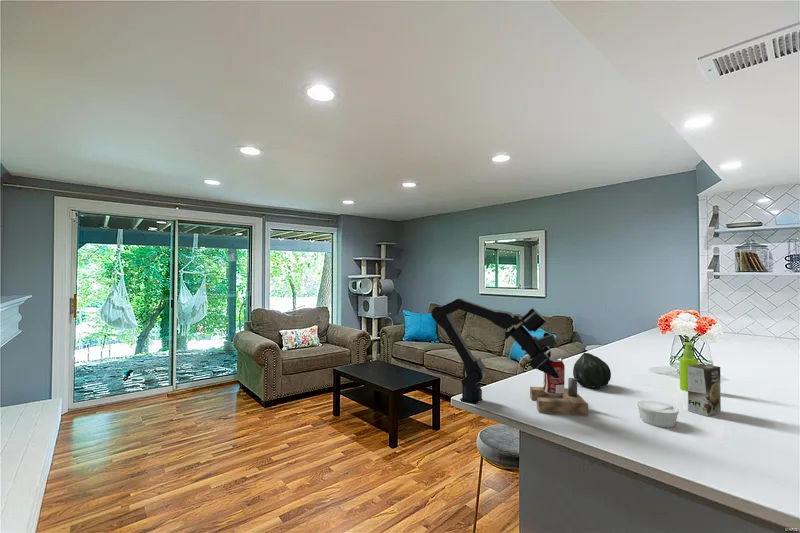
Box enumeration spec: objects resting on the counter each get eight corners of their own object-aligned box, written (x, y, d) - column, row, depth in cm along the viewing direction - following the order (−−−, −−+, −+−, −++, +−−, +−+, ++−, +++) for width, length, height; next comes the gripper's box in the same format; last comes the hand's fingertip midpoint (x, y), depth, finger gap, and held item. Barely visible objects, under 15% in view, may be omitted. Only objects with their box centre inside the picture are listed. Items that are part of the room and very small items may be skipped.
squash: (624, 375, 159) (599, 345, 167) (606, 382, 150) (581, 350, 159) (599, 391, 168) (577, 362, 176) (581, 399, 159) (559, 367, 168)
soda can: (568, 396, 128) (568, 361, 128) (549, 396, 127) (549, 361, 128) (557, 390, 135) (558, 356, 135) (539, 390, 134) (540, 357, 134)
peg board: (539, 412, 131) (539, 383, 131) (530, 396, 148) (530, 371, 148) (587, 415, 128) (587, 386, 128) (573, 399, 145) (573, 373, 145)
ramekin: (680, 432, 115) (680, 415, 115) (637, 424, 121) (637, 408, 121) (676, 420, 125) (676, 404, 125) (637, 413, 131) (637, 398, 131)
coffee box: (708, 417, 128) (708, 369, 128) (687, 410, 133) (686, 365, 134) (721, 412, 132) (721, 366, 132) (700, 406, 138) (700, 362, 138)
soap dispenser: (683, 391, 155) (682, 343, 156) (678, 387, 162) (677, 340, 162) (700, 393, 153) (700, 344, 154) (694, 388, 160) (694, 341, 160)
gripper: (540, 329, 124) (577, 366, 120) (543, 322, 141) (575, 355, 137) (515, 350, 128) (550, 387, 123) (521, 341, 145) (552, 373, 140)
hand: (558, 374), depth 131 cm, fingers closed on soda can, 6 cm apart
